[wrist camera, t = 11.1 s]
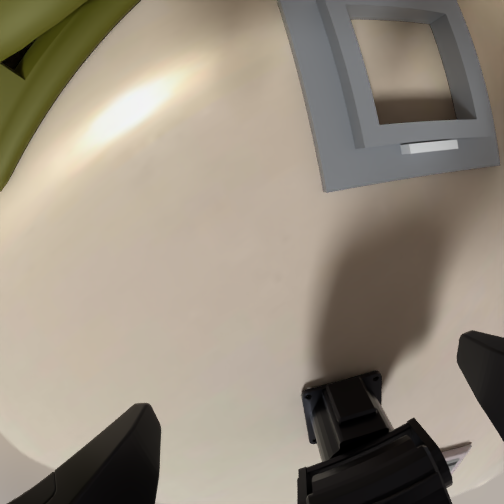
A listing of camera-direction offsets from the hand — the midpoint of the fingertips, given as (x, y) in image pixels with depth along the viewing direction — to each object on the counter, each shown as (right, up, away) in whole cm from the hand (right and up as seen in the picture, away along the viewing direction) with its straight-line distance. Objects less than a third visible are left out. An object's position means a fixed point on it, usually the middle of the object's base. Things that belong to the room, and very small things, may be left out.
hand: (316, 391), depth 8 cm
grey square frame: (+8, +16, +10) cm, 21 cm away
